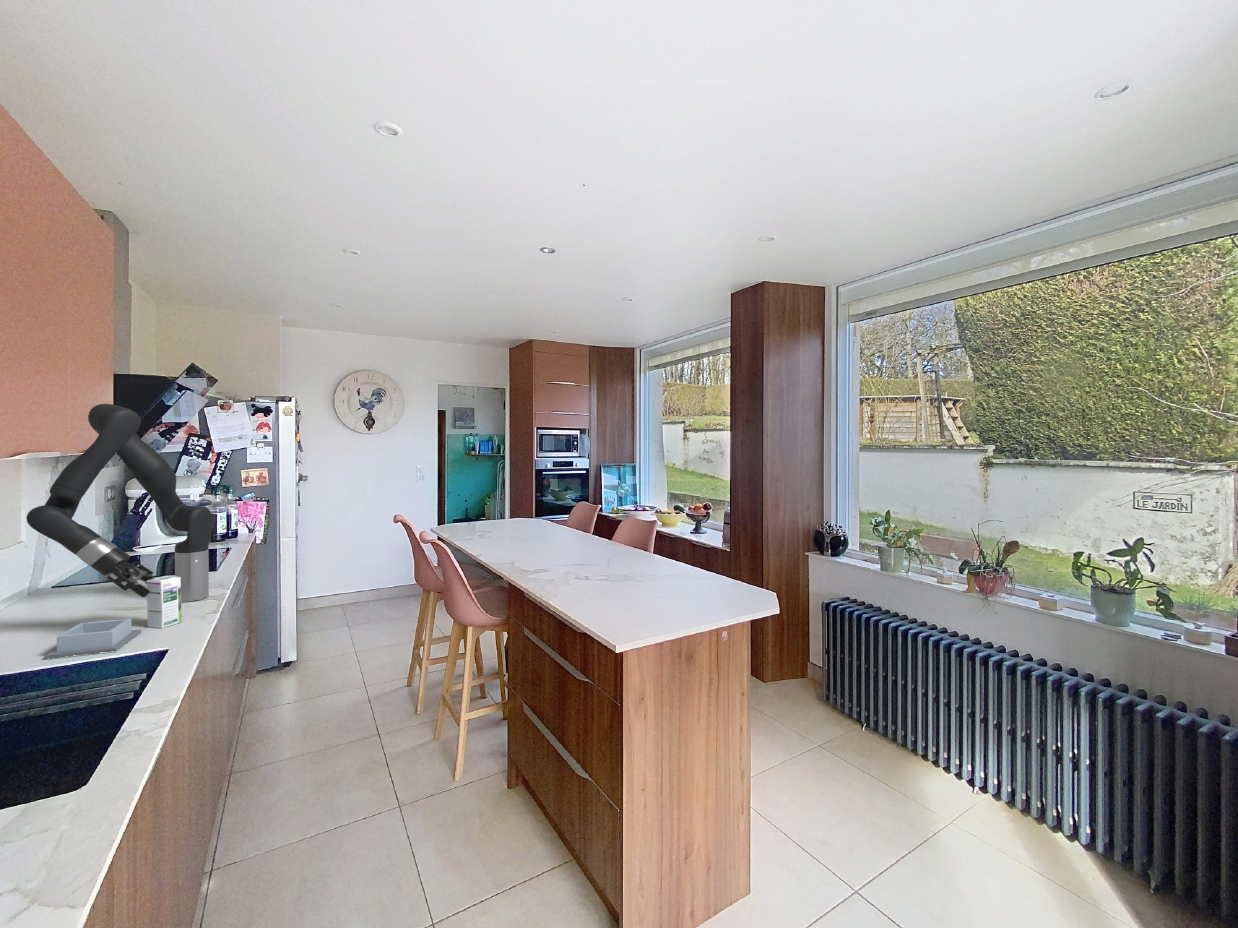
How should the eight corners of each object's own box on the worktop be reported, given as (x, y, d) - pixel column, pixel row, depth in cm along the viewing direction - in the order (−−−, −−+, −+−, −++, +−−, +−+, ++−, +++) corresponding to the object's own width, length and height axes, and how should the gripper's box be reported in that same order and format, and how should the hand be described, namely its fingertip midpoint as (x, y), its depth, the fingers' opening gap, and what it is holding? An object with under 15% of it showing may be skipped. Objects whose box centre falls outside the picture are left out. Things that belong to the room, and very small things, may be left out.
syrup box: (162, 628, 154) (161, 580, 153) (146, 626, 155) (146, 579, 154) (182, 622, 159) (181, 576, 159) (166, 620, 161) (166, 574, 160)
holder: (77, 638, 145) (77, 621, 145) (141, 632, 150) (141, 615, 150) (44, 659, 131) (44, 640, 131) (116, 651, 137) (115, 633, 137)
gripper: (102, 551, 145) (154, 587, 150) (126, 542, 158) (173, 576, 163) (77, 571, 143) (131, 607, 148) (104, 560, 156) (152, 594, 161)
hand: (153, 590), depth 156 cm, fingers open, 8 cm apart
